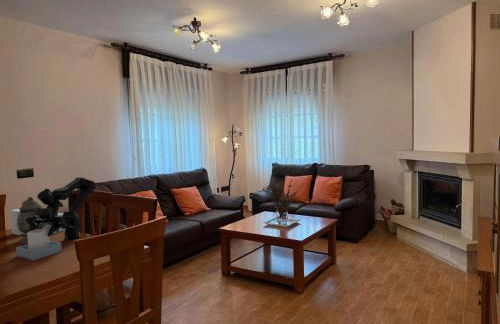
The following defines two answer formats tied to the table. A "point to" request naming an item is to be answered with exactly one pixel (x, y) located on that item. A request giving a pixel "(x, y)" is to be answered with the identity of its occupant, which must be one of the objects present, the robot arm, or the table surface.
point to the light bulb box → (48, 225)
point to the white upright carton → (38, 239)
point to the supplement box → (15, 222)
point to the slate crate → (38, 251)
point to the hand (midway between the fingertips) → (39, 236)
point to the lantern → (25, 212)
